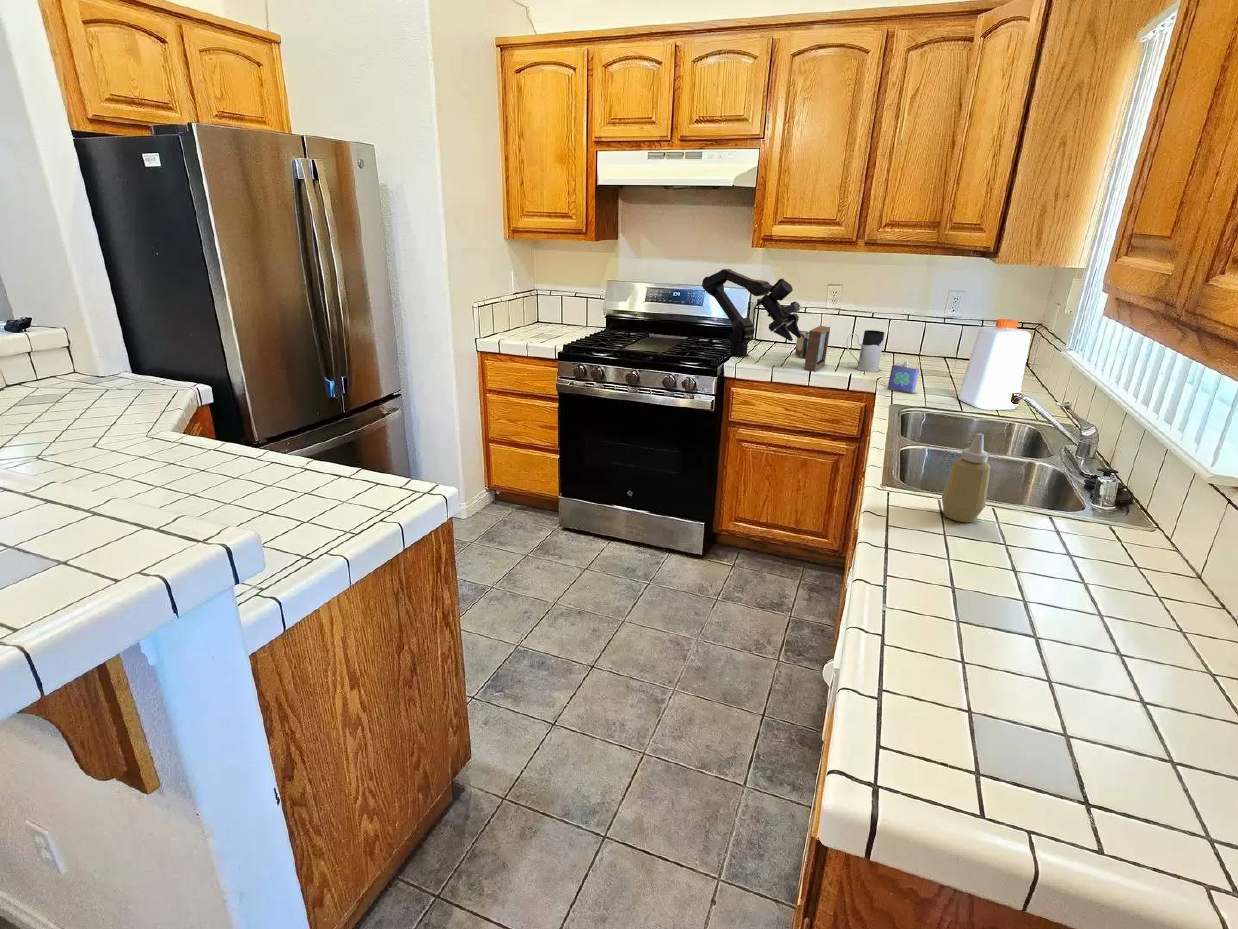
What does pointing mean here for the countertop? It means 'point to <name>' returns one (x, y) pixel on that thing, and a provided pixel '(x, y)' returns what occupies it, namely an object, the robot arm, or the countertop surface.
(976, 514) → the squeeze bottle
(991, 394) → the plastic bottle
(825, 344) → the window frame
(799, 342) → the food container
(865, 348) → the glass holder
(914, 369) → the flask
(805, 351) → the window sash
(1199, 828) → the countertop surface
